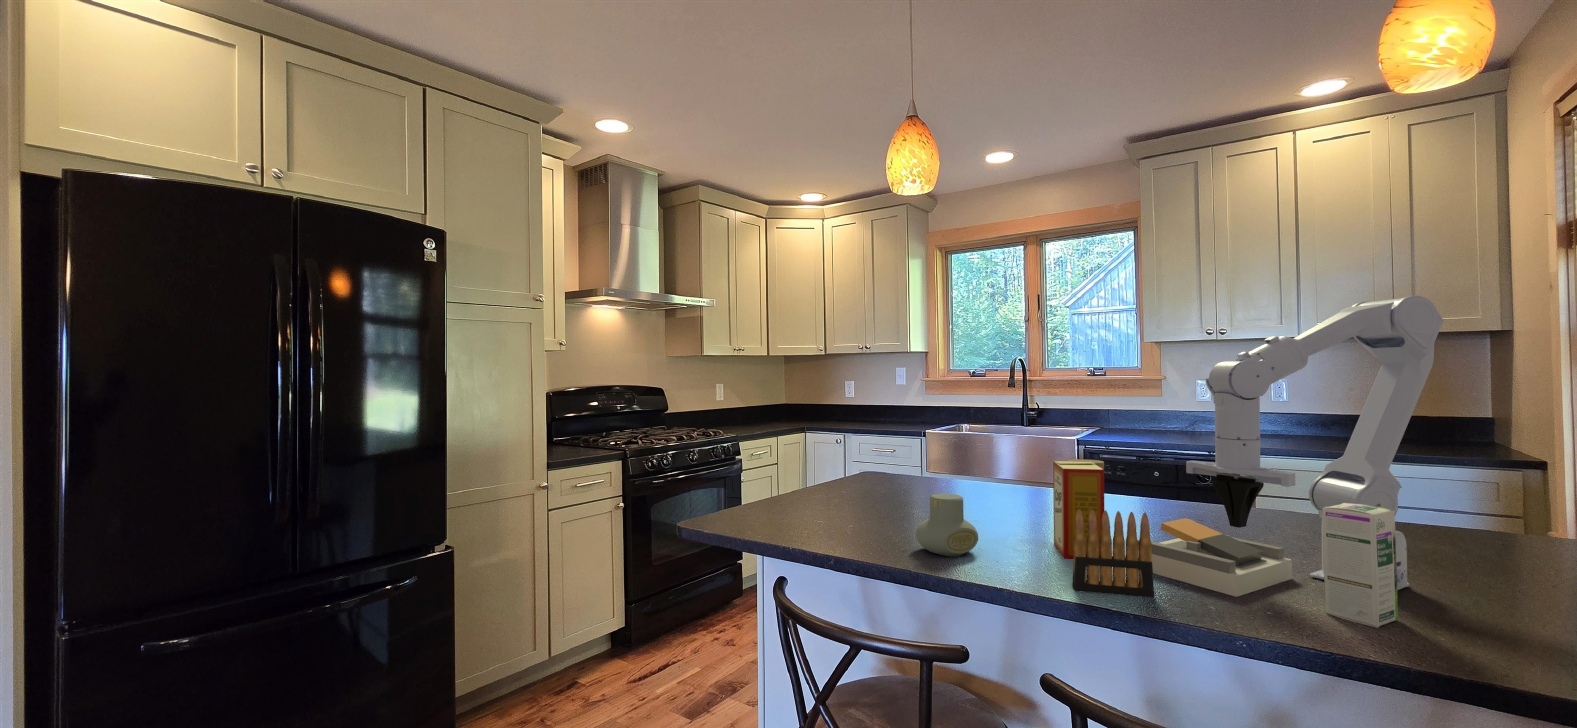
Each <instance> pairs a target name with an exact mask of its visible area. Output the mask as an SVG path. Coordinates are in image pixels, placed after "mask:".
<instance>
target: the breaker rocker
mask: <svg viewBox="0 0 1577 728" xmlns="http://www.w3.org/2000/svg"><path fill="white" fill-rule="evenodd" d="M1159 529H1160V530H1161V531H1162V532H1164V533H1166V534H1169V535H1171V536H1173V537H1175V538H1176V539H1177V538H1179V539H1181V540H1184V541H1186V542H1187V541H1194V542H1199V543H1201V549H1203V550H1205V551H1207V552H1209V553H1212V554H1214V555H1216V556H1218V557H1220V558H1224V559H1228V560H1233V561H1235V564H1236V565H1240V564H1244V563H1247V562H1251V561H1254V560H1258V559H1261V558H1262V555H1263V551H1261V550H1259V549H1257V548H1254V547H1252V546H1250V545H1247V544H1245V543H1243V542H1240V541H1238V540H1236V539H1233V538H1231V537H1232V536H1230V535H1229V536H1230V537H1229V536H1227V535H1228V534H1224V533H1222V532H1219V531H1218V530H1215V529H1212V528H1210V527H1208V526H1206V525H1204V524H1201V523H1198V522H1196V521H1194V520H1192V519H1189V518H1188V517H1186V518H1185V517H1184V518H1180V519H1179V518H1178V519H1175V520H1170V521H1164V522H1161V525H1160V528H1159Z"/></svg>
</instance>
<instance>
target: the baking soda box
mask: <svg viewBox="0 0 1577 728" xmlns="http://www.w3.org/2000/svg"><path fill="white" fill-rule="evenodd" d="M1052 467H1053V468H1052V471H1053V472H1052V475H1053V477H1052V478H1053V479H1052V483H1053V485H1052V486H1053V489H1052V491H1053V492H1052V494H1053V498H1052V499H1053V500H1052V501H1053V546H1054V547H1055V548H1056V549H1057V551H1058V553H1060V555H1061V557H1062V559H1063V560H1074V534H1075V520H1076V514H1077V511H1078V509H1080V510H1081V512H1082V516H1083V521H1084V534H1085V540H1086V554H1087V535H1088V521H1089V515H1090V512H1091V510H1093V511H1094V513H1095V516H1096V522H1097V535H1098V540H1099V555H1100V536H1101V522H1102V516H1103V513H1104V511H1105V468H1104V469H1102V468H1100V467H1099V466H1097V465H1095V464H1093V463H1092V462H1076V461H1068V460H1064V461H1063V460H1053V461H1052Z"/></svg>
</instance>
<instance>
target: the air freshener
mask: <svg viewBox="0 0 1577 728" xmlns="http://www.w3.org/2000/svg"><path fill="white" fill-rule="evenodd" d="M915 537H916V540H917V542H918V544H919V545H920V546H921V547H922V548H924V549H925V550H927V551H928V552H930V553H933V554H936V555H940V556H945V557H952V558H953V557H954V558H955V557H959V556H963V555H964V554H966V553H969V552H970V551H971V550H973V549H974V548H975V547H976V545H977V544H978V541H979V533H978V530H977V529H976V527H975V526H974V525H973V524H972V523H970V522H969V521H967V519H964V497H962V496H961V495H959V494H955V493H935V494H934V493H933V494H932V495H931V496H930V497H929V517H928V518H927V519H925V520H923V521H921V522H920V524H918V526H917V528H916V530H915Z"/></svg>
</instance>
